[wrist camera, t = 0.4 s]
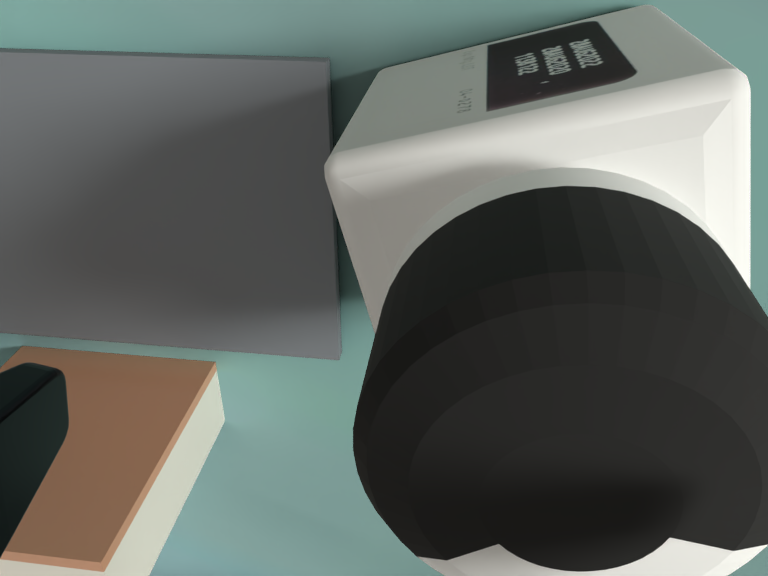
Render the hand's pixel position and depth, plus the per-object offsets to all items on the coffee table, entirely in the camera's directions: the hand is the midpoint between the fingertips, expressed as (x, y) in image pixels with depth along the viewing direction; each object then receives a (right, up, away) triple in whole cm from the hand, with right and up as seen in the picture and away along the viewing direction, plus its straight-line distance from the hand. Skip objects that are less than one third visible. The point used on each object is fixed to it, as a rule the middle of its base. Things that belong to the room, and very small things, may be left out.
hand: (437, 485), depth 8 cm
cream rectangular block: (-11, -2, +19) cm, 22 cm away
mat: (-11, +5, +15) cm, 20 cm away
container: (+4, +6, +13) cm, 14 cm away
